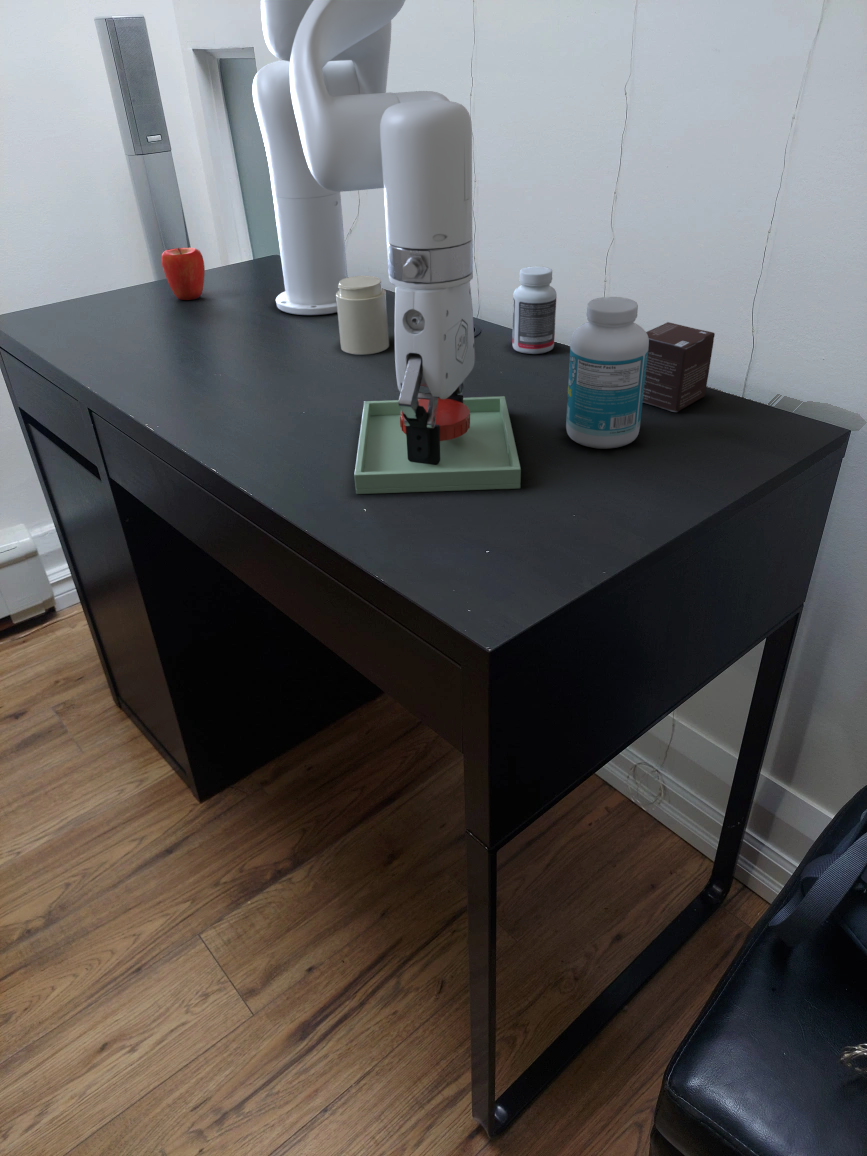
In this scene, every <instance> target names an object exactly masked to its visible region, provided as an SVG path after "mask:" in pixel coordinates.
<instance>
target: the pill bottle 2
mask: <svg viewBox="0 0 867 1156" xmlns="http://www.w3.org/2000/svg"><path fill="white" fill-rule="evenodd" d="M638 309H639V304H638V302H637V301H636V300H634V299H631V298H627V297H622V296H604V297H603V296H602V297H597V298H593V299H591V300H590V301H588V302H587V305H586V320H587V321H586V322H585V323H582V324H581V325H579V326H578V327H577V328H576V329H575V330H574V331H573V333H572V334H571V337H570V344H569V361H568V363H569V364H568V365H569V366H568V382H567V383H568V386H567V402H566V416H565V417H566V418H565V421H566V422H565V429H566V434H567V435H568V437H569V438H570V439H571V440H572V441H574V442H575V443H576V444H579V445H581V446H584V447H587V448H593V449H601V450H602V449H604V450H605V449H608V450H609V449H617V448H621V447H625V446H627V445H630V444H631V443H633V442H634V441H635V440H636V439H637V438H638V435H639V434H640V433H639V432H640V429H641V420H642V412H643V403H642V402H643V393H644V383H645V375H646V365H647V357H648V347H649V338H648V335H647V333H646V332H647V331H646V330H645V329H644V328H643V327H642V326H640V325H639V324H638V323H636V322H635V321H636V319H637V318H638V311H639V310H638Z"/></svg>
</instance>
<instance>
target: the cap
mask: <svg viewBox="0 0 867 1156" xmlns="http://www.w3.org/2000/svg"><path fill="white" fill-rule="evenodd" d="M418 402H419V406H423V407H424V409H425V410H426V412H428V403H429V400H424V399H420V400H418ZM435 424H437V425H439V427H440V441H445V440H450V439H454V438H457V437H460V436H462V435H463V434H465V433H466V432H467V431H468V429H469V428H470V414H469V408H468V407H467V406H466V405H465V404H463V403H461V402H459V401H456V400H452V399H440V398H438V405H437V414H436V423H435ZM400 427H401V429H402V431H403V432H404V433H405V434H406V426H405V424H404V416H403V412H402V410H401V416H400Z"/></svg>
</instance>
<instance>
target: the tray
mask: <svg viewBox="0 0 867 1156" xmlns="http://www.w3.org/2000/svg"><path fill="white" fill-rule="evenodd" d="M418 400H420V399H418ZM463 404H465V405H466V406H467V407H468V408H469V414H470V428H469V429H468V431H467V432H466V433H465V434H463V435H462V436H460V437H457V438H454V439H450V440H445V441H440V462H439V463H438V464H437V465H431V464H423V463H416V462H410V461H409V460H408V455H407V437H406V434H405V433H404V432H403V431H402V429H401V427H400V416H401V409H400V407H399V399H393V400H391V399H389V400H365V401H363V409H362V416H361V423H360V431H359V438H358V444H357V453H356V461H355V467H354V468H355V469H354V475H353V477H354V486H355V494H356V495H369V494H372V495H373V494H397V493H425V492H430V493H431V492H450V491H451V492H453V491H455V492H456V491H482V490H485V491H486V490H511V489H521V479H522V478H521V477H522V469H521V463H520V460H519V455H518V450H517V446H516V442H515V441H516V440H515V436H514V432H513V428H512V423H511V422H512V421H511V418H510V413H509V410H508V404H507V399H506V396H504V395H503V396H502V395H501V396H476V397H475V396H472V397H463Z"/></svg>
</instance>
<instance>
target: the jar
mask: <svg viewBox="0 0 867 1156" xmlns="http://www.w3.org/2000/svg"><path fill="white" fill-rule="evenodd" d="M338 287H339V291H338V292H337V293H336V302H337V312H336V313H337V322H338V323H337V324H338V332H339V343H340V344H339V345H340V349H341V351H343V352H344V353H347V354H350V355H358V356H360V355H361V356H362V355H364V356H365V355H373V354H378V353H381V352H383V351H386V350H387V349H388V348H389V347H390V337H389V336H390V335H389V318H388V306H387V305H388V303H387V290H386V289H385V288H382V279H381V278H379V277H377V276H374V275H373V276H372V275H355V276H354V275H353V276H348V278H344V279H342V280H340V281H339V284H338Z"/></svg>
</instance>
